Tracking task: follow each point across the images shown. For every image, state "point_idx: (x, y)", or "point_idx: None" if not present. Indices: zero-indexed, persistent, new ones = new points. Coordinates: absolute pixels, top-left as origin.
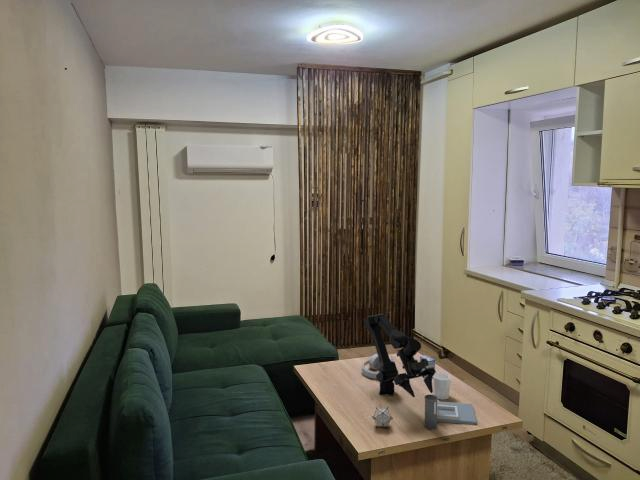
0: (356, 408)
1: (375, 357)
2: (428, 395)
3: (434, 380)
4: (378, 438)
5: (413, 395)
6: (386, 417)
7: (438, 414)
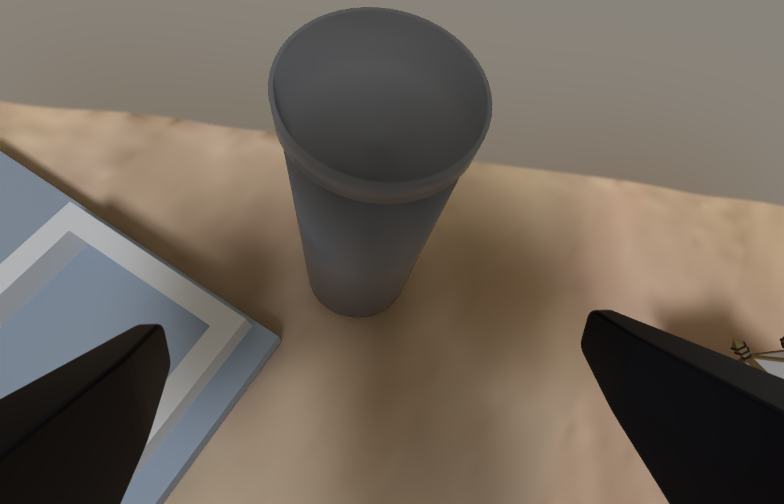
0: None
1: None
2: (382, 160)
3: None
4: (773, 291)
5: (624, 321)
6: None
7: (212, 316)
